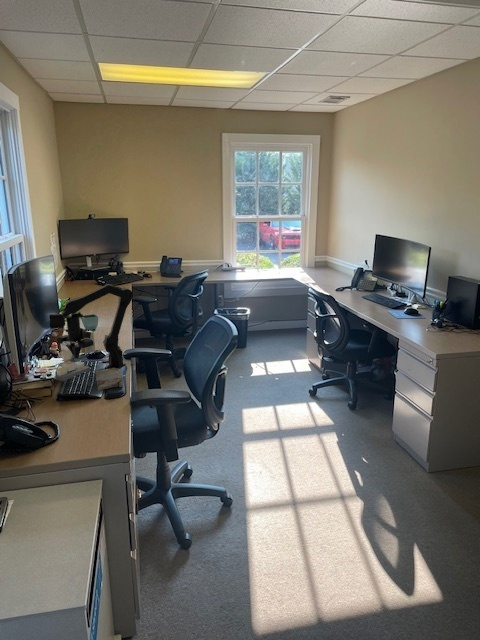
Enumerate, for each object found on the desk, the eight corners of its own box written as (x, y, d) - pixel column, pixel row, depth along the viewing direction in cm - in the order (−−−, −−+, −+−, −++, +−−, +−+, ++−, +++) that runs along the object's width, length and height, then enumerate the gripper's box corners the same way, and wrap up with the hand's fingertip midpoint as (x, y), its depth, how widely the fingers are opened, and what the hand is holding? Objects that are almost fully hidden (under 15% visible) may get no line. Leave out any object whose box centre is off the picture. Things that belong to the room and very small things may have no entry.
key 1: (84, 369, 221) (83, 362, 220) (77, 371, 217) (77, 364, 216) (78, 368, 223) (77, 360, 222) (72, 370, 219) (71, 363, 218)
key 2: (75, 369, 216) (75, 361, 215) (69, 371, 213) (68, 364, 212) (69, 367, 218) (69, 360, 217) (63, 370, 215) (62, 362, 214)
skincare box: (91, 351, 251) (89, 330, 248) (96, 353, 248) (94, 331, 245) (80, 354, 246) (78, 332, 243) (85, 356, 243) (83, 333, 240)
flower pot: (99, 329, 298) (98, 316, 296) (85, 331, 293) (84, 318, 291) (95, 327, 305) (94, 313, 303) (82, 329, 300) (80, 315, 298)
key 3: (67, 375, 212) (66, 368, 211) (60, 378, 209) (59, 370, 208) (61, 374, 214) (60, 367, 213) (54, 377, 211) (53, 369, 210)
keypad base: (90, 370, 220) (90, 366, 220) (63, 381, 207) (62, 377, 206) (76, 367, 225) (75, 363, 225) (48, 378, 211) (47, 373, 211)
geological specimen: (96, 381, 193) (94, 368, 207) (98, 394, 195) (95, 381, 208) (122, 377, 197) (118, 365, 210) (124, 390, 198) (120, 377, 212)
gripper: (101, 325, 217) (103, 356, 221) (73, 321, 226) (76, 351, 230) (82, 330, 208) (85, 363, 211) (54, 326, 217) (58, 357, 220)
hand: (76, 358), depth 219 cm, fingers closed
